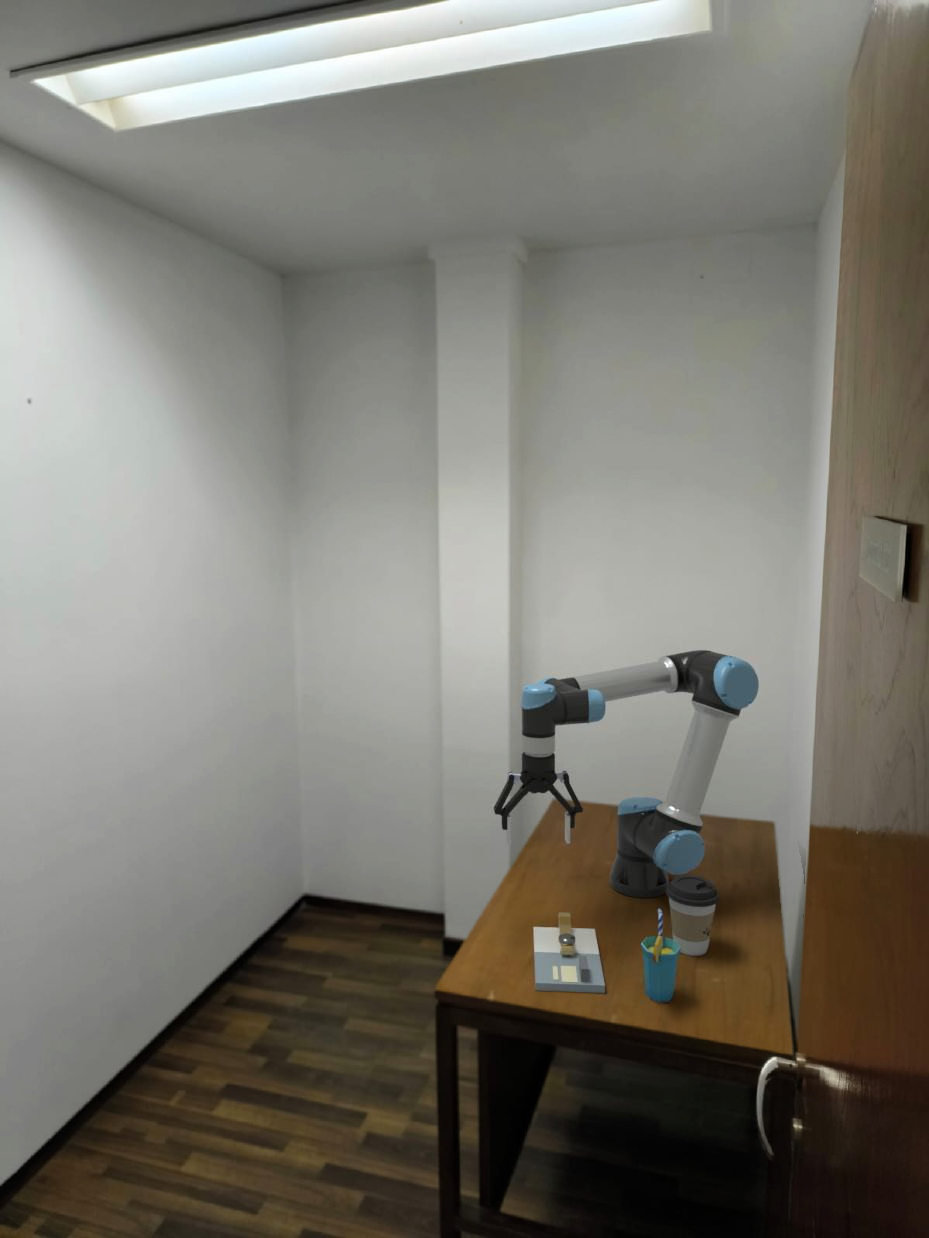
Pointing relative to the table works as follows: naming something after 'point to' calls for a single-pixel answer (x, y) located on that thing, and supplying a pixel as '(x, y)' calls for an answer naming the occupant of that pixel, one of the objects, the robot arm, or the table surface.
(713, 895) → the coffee cup
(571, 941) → the latch bar
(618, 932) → the table surface
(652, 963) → the cup
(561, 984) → the door fixture
